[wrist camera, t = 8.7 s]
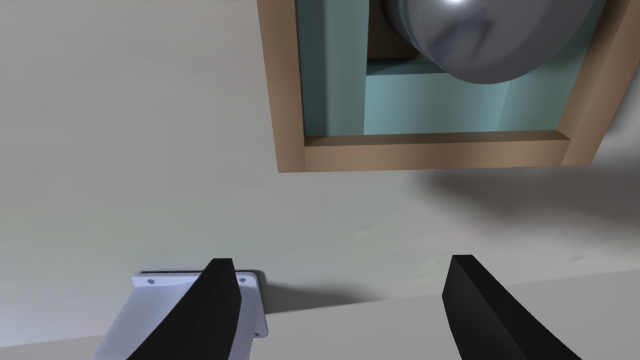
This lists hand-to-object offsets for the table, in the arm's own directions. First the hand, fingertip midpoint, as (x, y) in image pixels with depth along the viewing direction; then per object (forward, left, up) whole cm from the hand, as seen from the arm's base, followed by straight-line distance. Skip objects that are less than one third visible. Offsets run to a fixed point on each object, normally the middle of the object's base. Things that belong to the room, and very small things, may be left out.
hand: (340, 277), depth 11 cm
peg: (+4, +8, -8) cm, 12 cm away
